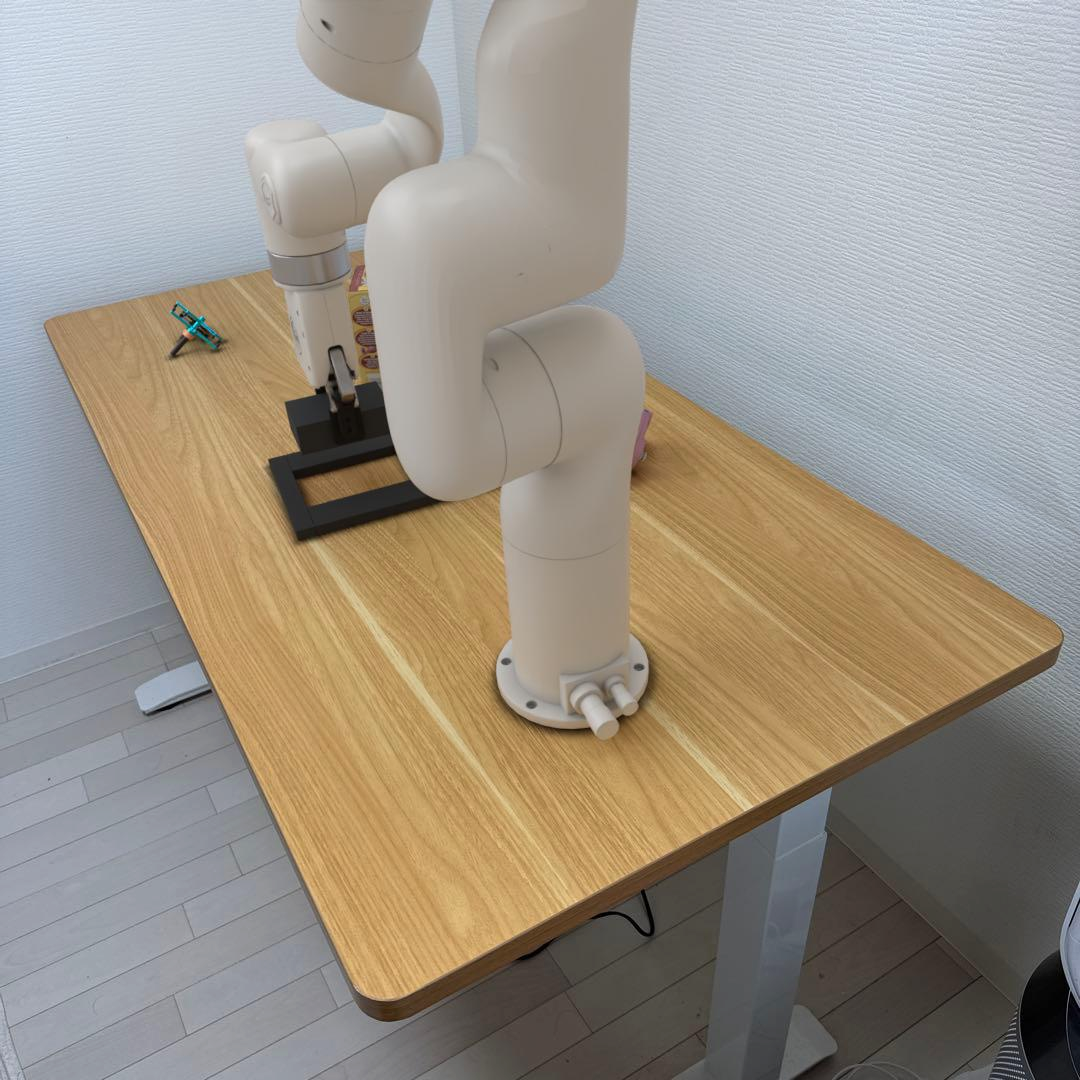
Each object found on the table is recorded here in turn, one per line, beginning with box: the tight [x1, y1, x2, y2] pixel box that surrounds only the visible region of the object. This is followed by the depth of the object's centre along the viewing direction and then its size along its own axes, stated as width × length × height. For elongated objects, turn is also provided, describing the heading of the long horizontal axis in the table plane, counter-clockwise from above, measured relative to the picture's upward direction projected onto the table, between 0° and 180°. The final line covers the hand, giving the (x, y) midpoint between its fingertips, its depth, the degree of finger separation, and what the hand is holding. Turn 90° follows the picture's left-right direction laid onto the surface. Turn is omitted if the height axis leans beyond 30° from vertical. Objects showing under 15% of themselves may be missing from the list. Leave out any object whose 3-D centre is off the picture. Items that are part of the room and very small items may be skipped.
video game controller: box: [631, 408, 653, 470], centre depth 105 cm, size 10×5×7 cm, turn 168°
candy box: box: [346, 264, 383, 391], centre depth 119 cm, size 9×4×15 cm, turn 2°
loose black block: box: [284, 381, 391, 456], centre depth 102 cm, size 6×10×3 cm, turn 113°
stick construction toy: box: [169, 301, 223, 357], centre depth 138 cm, size 12×7×8 cm
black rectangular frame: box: [267, 434, 443, 541], centre depth 107 cm, size 16×22×1 cm
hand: (342, 425), depth 102 cm, fingers closed on loose black block, 6 cm apart
